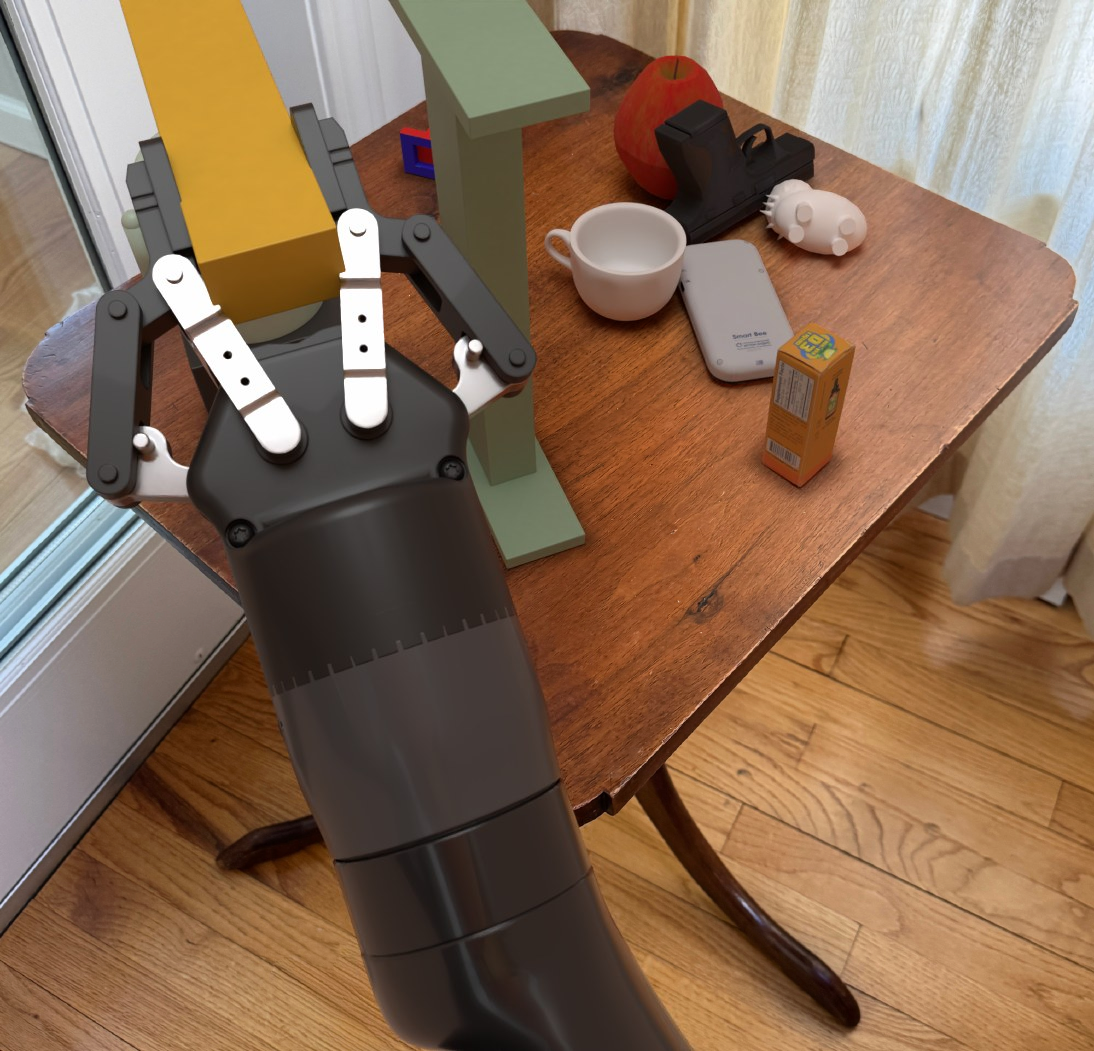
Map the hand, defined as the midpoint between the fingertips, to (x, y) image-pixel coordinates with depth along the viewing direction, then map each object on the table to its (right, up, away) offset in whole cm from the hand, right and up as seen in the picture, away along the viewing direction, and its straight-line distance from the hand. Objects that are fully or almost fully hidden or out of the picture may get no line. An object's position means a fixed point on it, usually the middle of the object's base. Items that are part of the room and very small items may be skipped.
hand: (228, 136), depth 35 cm
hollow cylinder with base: (-6, -6, +39) cm, 40 cm away
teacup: (+14, +4, +46) cm, 48 cm away
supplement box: (+25, -8, +37) cm, 45 cm away
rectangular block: (-1, +1, +4) cm, 4 cm away
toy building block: (-1, +19, +55) cm, 58 cm away
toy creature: (+29, +9, +45) cm, 54 cm away
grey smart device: (+23, +4, +42) cm, 48 cm away
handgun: (+23, +18, +43) cm, 53 cm away
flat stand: (+8, -9, +36) cm, 38 cm away
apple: (+19, +14, +53) cm, 58 cm away
